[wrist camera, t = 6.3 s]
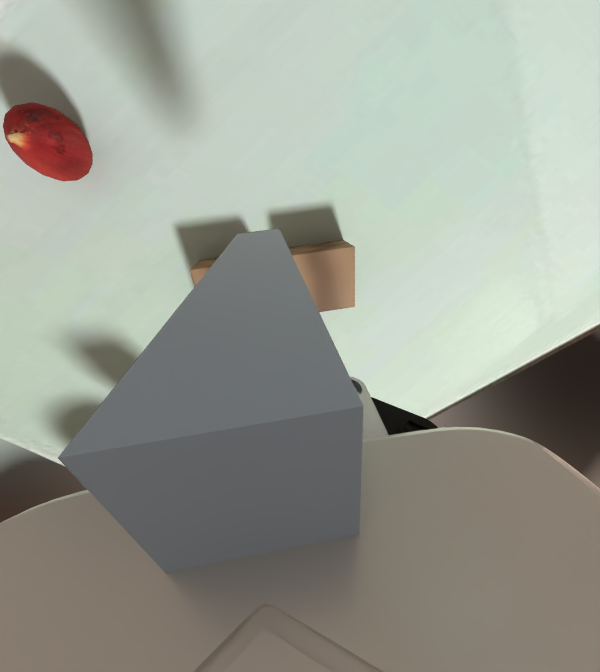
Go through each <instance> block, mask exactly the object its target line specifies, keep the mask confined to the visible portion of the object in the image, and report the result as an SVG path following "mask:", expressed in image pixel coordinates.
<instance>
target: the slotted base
mask: <svg viewBox="0 0 600 672" xmlns="http://www.w3.org/2000/svg"><path fill="white" fill-rule="evenodd" d="M289 250H290V252H291V254H292V256H293V258H294V261H295V263H296V265H297V267H298V269H299V271H300V273H301V275H302V277H303V280H304V282H305V284H306V286H307V288H308V290H309V292H310V294H311V296H312V299H313V301H314V303H315V305H316V307H317V309H318V311H319V312H323V311H330V310H336V309H343V308H349V307H355V247H354V246H353V245H351V244H349V243H347V242H346V241H344V240H342V241H335V242H328V243H320V244H313V245H306V246H299V247H292V248H289ZM217 259H218V258H214V259H207V260H200V261H199V262H198V263H197V264H196V265H195V266H194V267H193V268H192V269H191V270H190V272H191V275H192V278H193V281H194V284H195V286H196V285H197V284H198V282H199V281H200V280H201V279H202V277H203V276H204V275H205V274H206V272H207V271H208V270H209V269H210V267H211V266H212V265H213V264H214V262H215V261H216V260H217Z"/></svg>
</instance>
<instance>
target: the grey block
mask: <svg viewBox="0 0 600 672" xmlns="http://www.w3.org/2000/svg"><path fill="white" fill-rule="evenodd" d="M362 435H363V404H362V402H361V400H360V398H359V396H358V394H357V392H356V389H355V387H354V385H353V383H352V381H351V379H350V377H349V375H348V373H347V370H346V368H345V366H344V364H343V362H342V360H341V358H340V356H339V353H338V351H337V349H336V347H335V345H334V343H333V341H332V339H331V337H330V334H329V332H328V330H327V328H326V326H325V324H324V322H323V320H322V318H321V315H320V313H319V311H318V309H317V307H316V305H315V303H314V301H313V299H312V296H311V294H310V292H309V290H308V288H307V286H306V284H305V282H304V280H303V277H302V275H301V273H300V271H299V269H298V267H297V265H296V263H295V261H294V258H293V256H292V254H291V252H290V250H289V248H288V246H287V244H286V242H285V239H284V237H283V235H282V233H281V231H280V229H272V230H264V231H256V232H248V233H240V234H237V235H236V236H235V237H234V239H233V240H232V241H231V242H230V244H229V245H228V246H227V247H226V249H225V250H224V251H223V252H222V254H221V255H220V256H219V257H218V259H217V260H216V261H215V262H214V264H213V265H212V266H211V267H210V269H209V270H208V271H207V272H206V274H205V275H204V276H203V277H202V279H201V280H200V281H199V282H198V284H197V285H196V286H195V287H194V289H193V290H192V291H191V292H190V293H189V295H188V296H187V297H186V298H185V300H184V301H183V302H182V303H181V305H180V306H179V307H178V308H177V310H176V311H175V312H174V313H173V315H172V316H171V317H170V318H169V320H168V321H167V322H166V323H165V325H164V326H163V327H162V328H161V330H160V331H159V332H158V333H157V335H156V336H155V337H154V338H153V340H152V341H151V342H150V343H149V345H148V346H147V347H146V348H145V350H144V351H143V352H142V353H141V355H140V356H139V357H138V358H137V360H136V361H135V362H134V363H133V365H132V366H131V367H130V368H129V370H128V371H127V372H126V373H125V375H124V376H123V377H122V378H121V380H120V381H119V382H118V383H117V385H116V386H115V387H114V388H113V390H112V391H111V392H110V393H109V395H108V396H107V397H106V398H105V400H104V401H103V402H102V403H101V405H100V406H99V407H98V408H97V410H96V411H95V412H94V413H93V415H92V416H91V417H90V418H89V420H88V421H87V422H86V423H85V425H84V426H83V427H82V428H81V430H80V431H79V432H78V433H77V435H76V436H75V437H74V438H73V440H72V441H71V442H70V443H69V445H68V446H67V447H66V448H65V450H64V451H63V452H62V453H61V455H60V456H59V457H58V459H59V460H60V461H61V462H62V463H63V464H64V465H65V466H66V467H67V468H68V469H69V470H70V471H71V472H72V473H73V475H74V476H75V477H76V478H77V479H78V480H79V481H80V482H81V483H82V484H83V485H84V486H85V488H86V489H87V490H88V491H89V492H90V493H91V494H92V495H93V496H94V497H95V498H96V499H97V500H98V501H99V503H100V504H101V505H102V506H103V507H104V508H105V509H106V510H107V511H108V512H109V513H110V514H111V515H112V516H113V517H114V519H115V520H116V521H117V522H118V523H119V524H120V525H121V526H122V527H123V528H124V529H125V530H126V531H127V532H128V534H129V535H130V536H131V537H132V538H133V539H134V540H135V541H136V542H137V543H138V544H139V545H140V546H141V547H142V549H143V550H144V551H145V552H146V553H147V554H148V555H149V556H150V557H151V558H152V559H153V560H154V561H155V562H156V564H157V565H158V566H159V567H160V568H161V569H162V570H163V571H164V572H165V573H169V572H174V571H179V570H184V569H189V568H194V567H199V566H204V565H209V564H214V563H219V562H224V561H229V560H234V559H238V558H243V557H248V556H253V555H258V554H263V553H268V552H273V551H278V550H284V549H289V548H294V547H299V546H304V545H309V544H315V543H320V542H325V541H330V540H335V539H340V538H345V537H351V536H356V535H359V532H360V500H361V468H362Z"/></svg>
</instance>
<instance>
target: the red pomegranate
mask: <svg viewBox="0 0 600 672" xmlns="http://www.w3.org/2000/svg"><path fill="white" fill-rule="evenodd" d="M3 128H4V133H5V138H6V140H7V141H8V143H9V145H10V146H11V148H12V150H13V151H14V152H15V153H16V154H17V155H18V156H19V157H20V158H21V159H22V160H23V161H24V162H25V164H27V165H28V166H30V167H31V168H33V169H34V170H36V171H37V172H39V173H41V174H42V175H45V176H48V177H51V178H54V179H57V180H61V181H75V180H79V179H81V178H82V177H84V176H85V175H87V174H88V173H89V170H90V168H91V166H92V151H91V148H90V145H89V142H88V140H87V138H86V137H85V135H84V134H83V133H82V131H81V130H80V128H79V127H78V125H77V124H75V123H74V122H73V121H72V120H70V119H69V118H68V117H66V116H65V115H64V114H62V113H61V112H59V111H58V110H56V109H53V108H50V107H47V106H44V105H41V104H37V103H28V104H21V105H15V106H14V107H12V108H11V109H10V110H9V111H8V112H7V113H6V114H5V118H4V124H3Z"/></svg>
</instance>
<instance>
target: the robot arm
mask: <svg viewBox="0 0 600 672" xmlns="http://www.w3.org/2000/svg"><path fill="white" fill-rule="evenodd" d="M350 379H351V381H352V383H353V385H354V387H355V389H356V392H357V394H358V396H359V398H360V400H361V402H362V404H363V435H362V468H361V500H360V532H359V535H356V536H351V537H345V538H340V539H335V540H330V541H325V542H320V543H315V544H309V545H304V546H299V547H294V548H289V549H284V550H278V551H273V552H268V553H263V554H258V555H253V556H248V557H243V558H238V559H234V560H229V561H224V562H219V563H214V564H209V565H204V566H199V567H194V568H189V569H184V570H179V571H174V572H169V573H165V572H164V571H163V570H162V569H161V568H160V567H159V566H158V565H157V564H156V562H155V561H154V560H153V559H152V558H151V557H150V556H149V555H148V554H147V553H146V552H145V551H144V550H143V549H142V547H141V546H140V545H139V544H138V543H137V542H136V541H135V540H134V539H133V538H132V537H131V536H130V535H129V534H128V532H127V531H126V530H125V529H124V528H123V527H122V526H121V525H120V524H119V523H118V522H117V521H116V520H115V519H114V517H113V516H112V515H111V514H110V513H109V512H108V511H107V510H106V509H105V508H104V507H103V506H102V505H101V504H100V503H99V501H98V500H97V499H96V498H95V497H94V496H93V495H92V494H91V493H90V492H89V491H88V490H86V491H81V492H78V493H74V494H71V495H67V496H64V497H61V498H57V499H54V500H52V501H49V502H46V503H44V504H41V505H38V506H36V507H33V508H31V509H28V510H26V511H24V512H22V513H20V514H18V515H16V516H14V517H11V518H9V519H8V520H5V521H4V522H2V523H0V672H600V489H599V488H598V487H597V486H596V485H594V484H593V483H592V482H591V481H590V480H588V479H587V478H586V477H584V476H583V475H582V474H581V473H579V472H578V471H577V470H575V469H574V468H573V467H572V466H570V465H569V464H568V463H566V462H565V461H564V460H562V459H561V458H559V457H558V456H557V455H555V454H554V453H552V452H551V451H549V450H548V449H546V448H545V447H543V446H541V445H539V444H538V443H536V442H534V441H532V440H530V439H527V438H525V437H522V436H519V435H515V434H512V433H507V432H503V431H499V430H492V429H485V428H469V427H450V426H444V427H443V428H438V427H437V426H436V425H434V424H433V423H432V422H431V421H429V420H427V419H425V418H423V417H420V416H418V415H415V414H413V413H410V412H408V411H405V410H403V409H400V408H397V407H395V406H392V405H390V404H387V403H385V402H382V401H380V400H377V399H375V398H372V397H370V394H369V392H368V390H367V388H366V386H365V385H364V383H363V382H362V381H360V380H359V379H356V378H354V377H350Z"/></svg>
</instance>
